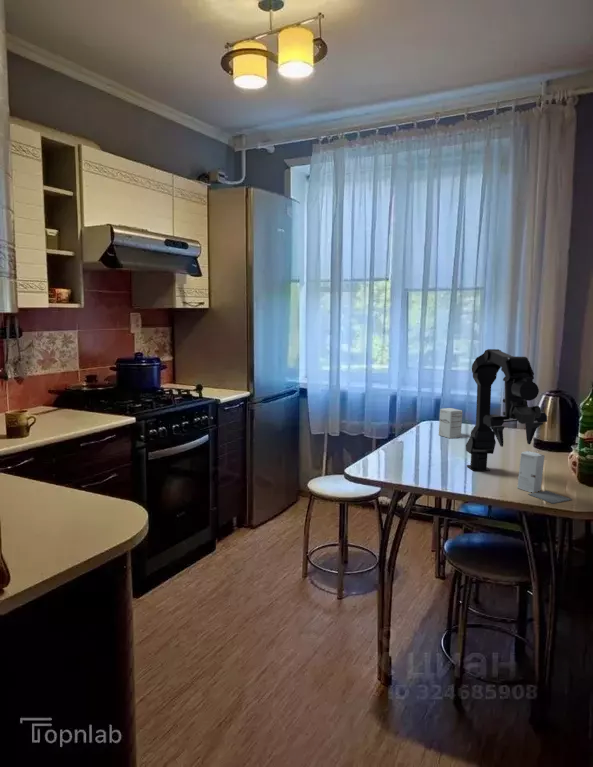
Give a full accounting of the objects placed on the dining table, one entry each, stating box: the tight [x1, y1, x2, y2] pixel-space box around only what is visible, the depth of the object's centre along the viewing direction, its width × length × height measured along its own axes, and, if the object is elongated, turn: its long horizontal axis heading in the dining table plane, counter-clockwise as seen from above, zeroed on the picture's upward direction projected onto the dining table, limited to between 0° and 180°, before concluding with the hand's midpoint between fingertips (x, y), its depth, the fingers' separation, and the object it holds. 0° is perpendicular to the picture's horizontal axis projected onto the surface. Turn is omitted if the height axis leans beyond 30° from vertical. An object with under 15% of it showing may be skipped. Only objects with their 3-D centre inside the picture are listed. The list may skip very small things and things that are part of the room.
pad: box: [527, 490, 572, 505], centre depth 174 cm, size 9×8×1 cm
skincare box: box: [517, 450, 545, 493], centre depth 180 cm, size 6×4×12 cm
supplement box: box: [438, 407, 463, 439], centre depth 257 cm, size 7×7×13 cm
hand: (515, 445), depth 177 cm, fingers open, 9 cm apart
